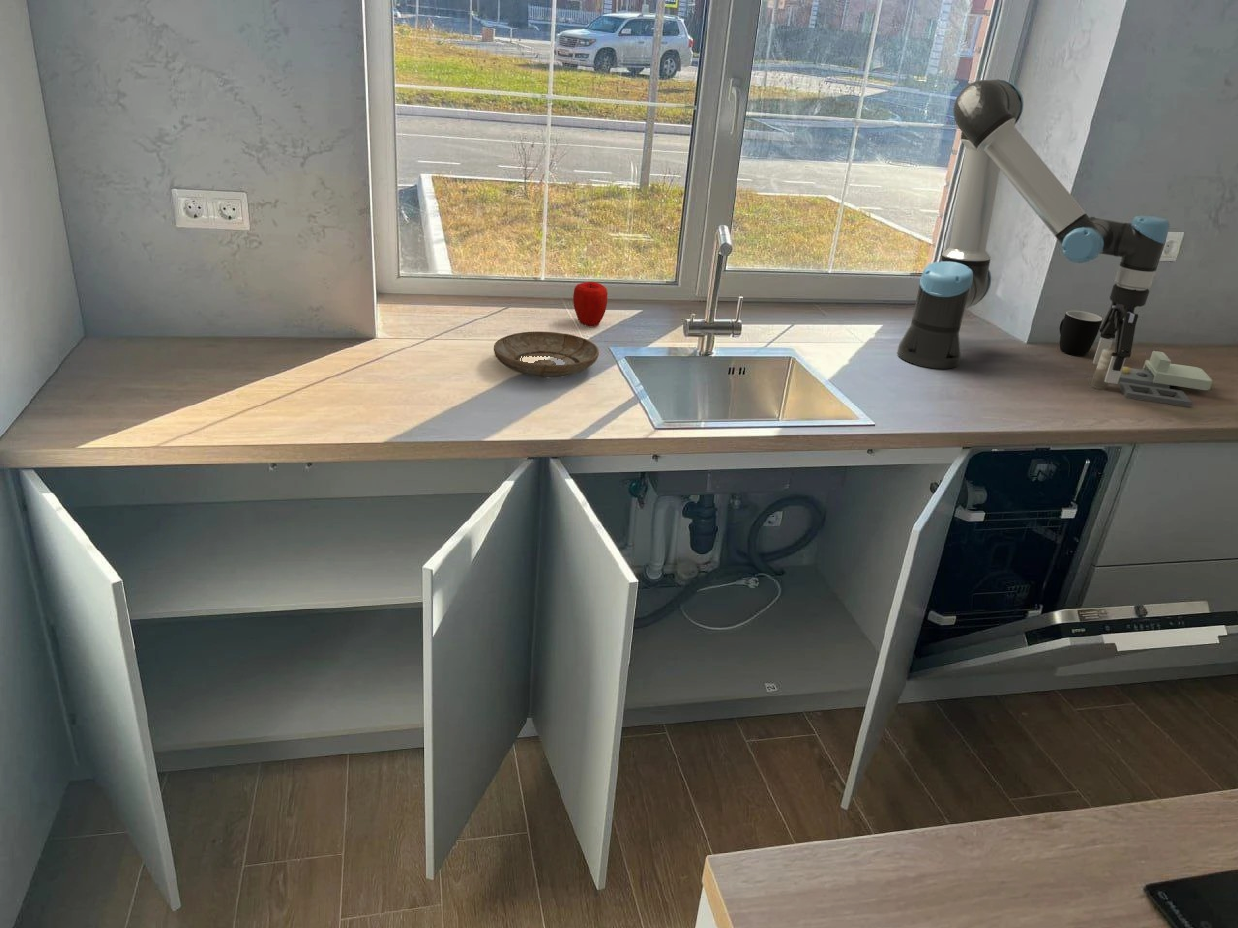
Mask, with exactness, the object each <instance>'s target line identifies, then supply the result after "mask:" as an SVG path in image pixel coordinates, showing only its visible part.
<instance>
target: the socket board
mask: <svg viewBox="0 0 1238 928" xmlns="http://www.w3.org/2000/svg"><path fill="white" fill-rule="evenodd" d="M1117 386H1118V388H1119V390H1120V391H1121V393H1122V394H1123V396H1124V397H1125V398H1126V399H1127V398H1128V399H1133V400H1138V401H1139V400H1140V401H1146V402H1153V403H1160V404H1164V405H1165V404H1166V405H1172V406H1179V407H1185V408H1191V406H1192V403H1193V402H1192V401H1191V400H1190V399H1189V398H1188V396H1187V395H1186V393H1185V392H1184V391H1183V390H1178V389H1174V388H1173V389H1172V388H1169V389H1167V388H1160V387H1153V386H1147V385H1140V384H1133V383H1127V382H1119V383H1118V384H1117Z"/></svg>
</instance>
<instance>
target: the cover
mask: <svg viewBox="0 0 1238 928" xmlns="http://www.w3.org/2000/svg"><path fill="white" fill-rule="evenodd" d="M1171 362H1172V360H1171V359H1170V358H1169V357H1168V356H1167V354H1166V353H1165V352H1162V351H1156V350H1152V353H1151V356H1150V358H1149V359H1146V360H1145V361H1144V364H1143V368H1142V370H1146V371H1151V372H1152V374H1153V375H1154V376H1155V377H1154V379H1153V383H1160V384H1167V385H1170V386H1175V387H1182V388H1188V389H1193V390H1202V391H1210V389H1211V386H1212V384H1213V381H1214V380H1213V379H1212V378H1211V377H1210V376H1209V375H1208V374H1207V373H1206V372H1205V371H1204V369H1202V368H1200V367H1197V366H1191V365H1184V364H1176V363H1171Z"/></svg>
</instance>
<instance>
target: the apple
mask: <svg viewBox="0 0 1238 928" xmlns="http://www.w3.org/2000/svg"><path fill="white" fill-rule="evenodd" d="M572 296H573V298H572V302H573V309H574V312H575V314H576V317H577V320H578V321H579V324H581V325H584V326H585V325H586V327H588V326H594V327H597V326H598V325H599V324H600V323H601V322H602V320H603V317H604V315H605V313H606V311H607V305H608V290H607V288H606V286H604V284H602V283H598V282H595V281H586V282H582V283H577V285H575V286H574V289H573V294H572Z"/></svg>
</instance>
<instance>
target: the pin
mask: <svg viewBox="0 0 1238 928" xmlns="http://www.w3.org/2000/svg"><path fill="white" fill-rule="evenodd" d="M1113 352H1115V349H1111V348H1110V349H1103V351H1102V353H1101V356H1100V359H1099V362H1098V364H1096V365H1097V366H1096V369H1095V371H1094V374H1093V377H1092V380H1091V383H1090V387H1091V388H1094V389H1097V390H1102V391H1103V390H1105V391H1106V390H1107V389H1108V386H1109V384H1110V383H1107V382H1105V378H1106V375H1107V371H1108V368H1109V365H1110V362H1111V359H1112V356H1111V354H1112V353H1113Z"/></svg>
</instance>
